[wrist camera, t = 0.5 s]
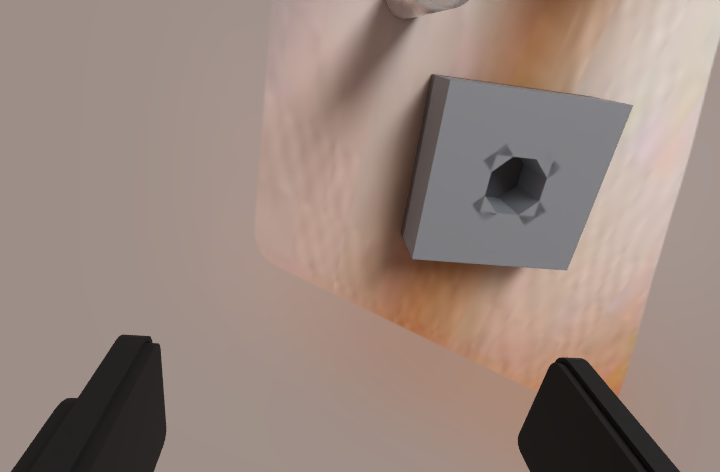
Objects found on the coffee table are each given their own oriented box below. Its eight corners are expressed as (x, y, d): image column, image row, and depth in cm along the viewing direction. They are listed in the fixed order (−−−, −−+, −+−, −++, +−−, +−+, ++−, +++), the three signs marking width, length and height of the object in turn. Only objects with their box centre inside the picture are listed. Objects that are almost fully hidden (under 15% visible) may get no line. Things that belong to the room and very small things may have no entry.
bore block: (431, 74, 32) (450, 79, 28) (591, 96, 34) (633, 105, 30) (400, 233, 38) (412, 259, 34) (538, 244, 40) (566, 270, 36)
